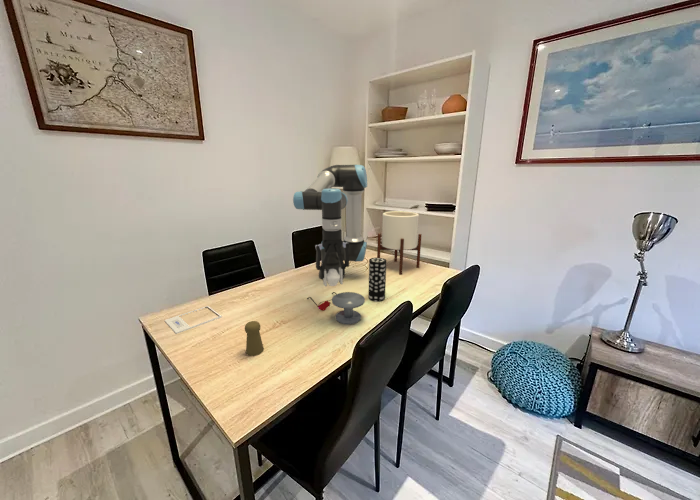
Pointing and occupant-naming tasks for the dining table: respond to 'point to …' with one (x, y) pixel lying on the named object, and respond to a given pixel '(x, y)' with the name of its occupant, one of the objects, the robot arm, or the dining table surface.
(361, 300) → the cake stand
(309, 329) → the dining table surface
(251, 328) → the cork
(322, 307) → the glasses
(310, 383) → the dining table surface
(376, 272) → the spotted tube
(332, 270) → the muffin
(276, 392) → the dining table surface
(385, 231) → the plant pot with stand
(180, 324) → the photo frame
